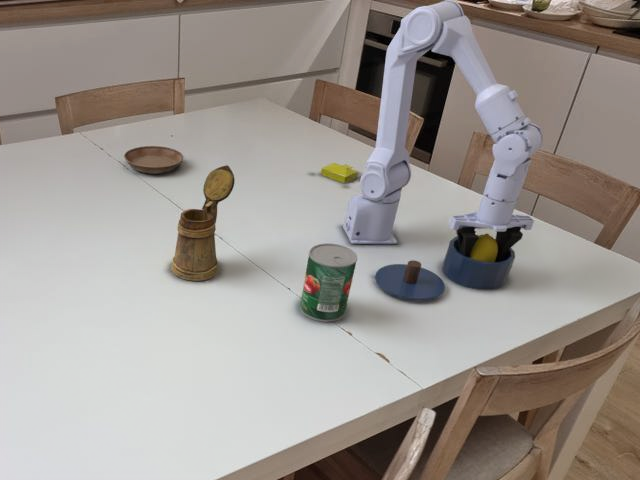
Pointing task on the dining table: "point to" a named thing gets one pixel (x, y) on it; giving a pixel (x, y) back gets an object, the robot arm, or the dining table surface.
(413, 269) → the pot lid
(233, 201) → the dining table surface
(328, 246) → the canned tomato
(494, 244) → the lemon
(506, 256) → the pot
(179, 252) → the wooden mug
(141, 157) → the saucer
